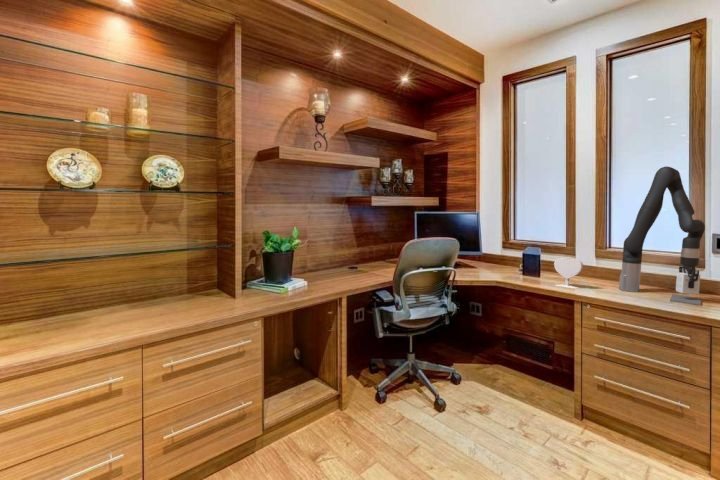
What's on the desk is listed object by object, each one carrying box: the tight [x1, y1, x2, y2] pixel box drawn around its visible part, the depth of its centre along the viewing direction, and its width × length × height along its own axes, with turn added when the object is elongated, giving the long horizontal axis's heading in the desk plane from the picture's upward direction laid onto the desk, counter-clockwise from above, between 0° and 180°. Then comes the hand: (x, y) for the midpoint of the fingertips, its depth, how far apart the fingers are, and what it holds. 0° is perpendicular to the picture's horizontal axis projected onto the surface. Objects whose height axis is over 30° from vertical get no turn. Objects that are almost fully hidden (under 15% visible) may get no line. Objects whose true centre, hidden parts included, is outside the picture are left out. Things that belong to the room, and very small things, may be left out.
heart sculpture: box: [553, 257, 584, 290], centre depth 226 cm, size 16×5×18 cm, turn 42°
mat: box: [669, 293, 702, 306], centre depth 194 cm, size 18×12×1 cm, turn 136°
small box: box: [675, 272, 701, 295], centre depth 194 cm, size 8×6×10 cm
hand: (687, 286), depth 194 cm, fingers closed on small box, 6 cm apart
